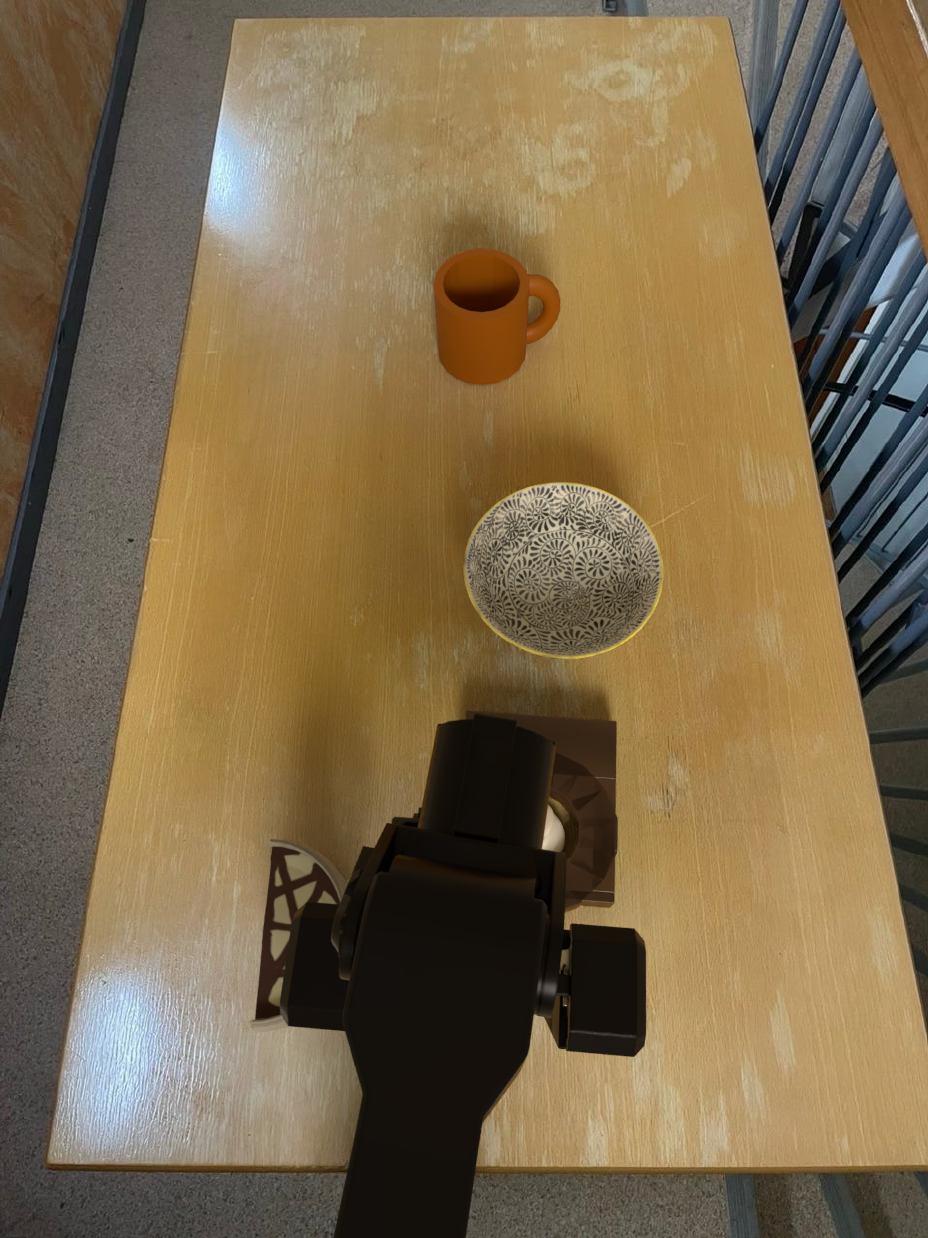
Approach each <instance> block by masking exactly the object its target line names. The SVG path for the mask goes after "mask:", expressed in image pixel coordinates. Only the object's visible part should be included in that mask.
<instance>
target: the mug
mask: <svg viewBox="0 0 928 1238" xmlns="http://www.w3.org/2000/svg"><path fill="white" fill-rule="evenodd" d="M432 286H433V297H434V312H435V325H436V326H435V327H436V339H437V341H436V342H437V353H438V357H439V362H440V364H441V366H442V367H443V369H444V370H445V372H447V373H448V374H449V375H451V376H452V377H453V378H454V379H456V380H458V381H460V382H463V383H465V384H466V383H467V384H469V385H476V386H477V385H478V386H485V385H486V386H487V385H493V384H498V383H501V382H503V381H505V380H507V379H510V377H512V376H513V375H514V374H516V373H517V372H518V371H519V370H520V368H521V367H522V365H523V364H524V362H525V360H526V359H525V358H526V352H527V345H531V344H533V343H536V342H537V341H540V340H541V339H542V338H544V337H545V336H547V335H548V333H549V332H550V331H551V330H552V329H553V328H554V326H555V324H556V322H557V321H558V317H559V316H560V312H561V296H560V292H559V289H558V288H557V287H556V285H555V283H554V282H553V281H552V280H551V279H549V278H548V277H547V276H544V275H541V274H537V273H528V271H527V269H526V268H525V267H524V265H523V264H522V263H521V261H520V260H518V259H517V258H516V257H514V256H512V255H511V254H510V253H506V252H504V251H501V250H498V249H494V248H483V247H482V248H481V247H480V248H473V249H466V250H464V251H460V252H458V253H456V254H453V255H452V256H450V257H449V258H447V259H446V260H444V262H443V263H442V264H441V265H440V266H439V267H438V269H437V271H436V272H435V276H434V279H433V285H432ZM530 297H534V298H535V297H536V298H537V299H539V300H540V301H541V303H542V309H541V312H540V313H539V315H538V316H537V317H536V318H535V319H534V320H533V321H530V322H529V305H530V304H529V302H530Z"/></svg>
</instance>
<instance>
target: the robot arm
mask: <svg viewBox="0 0 928 1238" xmlns="http://www.w3.org/2000/svg"><path fill="white" fill-rule="evenodd" d="M555 751H556V743H555V742H553V741H550V740H548V739H547V738H545V737H544V736H542V735H540V734H538V733H536V732H533V731H531V730H528V729H525V728H522V727H519V726H517V719H514V718H508V717H502V716H495V715H489V714H483V713H475V714H474V719H466V718H465V719H454V720H448V721H445V722H442V723H438V724H437V725H436V729H435V735H434V740H433V745H432V751H431V754H430V755H431V756H430V760H429V761H430V762H429V766H428V772H427V776H426V782H425V787H424V793H423V797H422V803H421V807H420V806H419V807H418V810H417V812H413V815H412V817H404V816H393V817H392V818H391V822H386V823H385V824H384V827H383V829H382V831H381V833H380V835H379V837H378V838H377V842H376V843H375V846H374V847H372V846H365V845H362V847H361V850H360V853H359V855H358V858H357V860H356V862H355V865H354V867H353V870H352V872H351V875H350V877H349V880H348V882H347V887H346V890H345V892H344V894H343V897H342V899H341V902H340V904H329V903H316V902H306V903H305V904H304V905H303V906H302V907H301V908H300V909H298V910H297V911H296V913H295V915H294V918H293V920H292V924H291V931H290V938H289V944H288V951H287V957H286V964H285V970H284V977H283V984H282V990H281V997H280V1014H281V1016H282V1017H283V1019H284V1020H285V1022H286V1023H287V1025H288V1026H289V1028H290V1027H291V1028H301V1029H302V1028H304V1029H313V1030H314V1029H315V1030H324V1031H335V1032H344V1033H345V1037H346V1040H347V1043H348V1047H349V1050H350V1054H351V1057H352V1061H353V1064H354V1069H355V1071H356V1076H357V1079H358V1082H359V1086H360V1089H361V1100H360V1106H359V1110H358V1116H357V1121H356V1126H355V1130H354V1131H355V1132H354V1137H353V1141H352V1145H351V1151H350V1155H349V1160H348V1164H347V1170H346V1175H345V1180H344V1183H343V1184H344V1185H343V1189H342V1194H341V1200H340V1204H339V1210H338V1214H337V1218H336V1223H335V1228H334V1233H333V1237H332V1238H467V1233H468V1226H469V1225H468V1224H469V1217H470V1210H471V1203H472V1198H473V1191H474V1184H475V1176H476V1170H477V1163H478V1157H479V1156H478V1155H479V1149H480V1142H481V1135H482V1129H483V1124H484V1122H486V1120H487V1118H488V1117H489V1116H490V1115H491V1113H492V1112H493V1110H494V1109H495V1108H496V1106H497V1105H498V1104H499V1102H500V1101H501V1099H502V1098H503V1096H504V1095H505V1094H506V1092H507V1091H508V1090H509V1088H510V1087H511V1086H512V1084H513V1083H514V1081H515V1080H516V1078H518V1076H519V1074H520V1072H521V1071H522V1069H523V1067H524V1064H525V1062H526V1061H527V1057H528V1055H529V1053H530V1052H529V1051H530V1049H531V1040H532V1032H533V1024H534V1016H536V1017H540V1018H541V1017H542V1018H544V1020H545V1022H546V1025H547V1027H548V1029H549V1031H550V1033H551V1036H552V1038H553V1040H554V1042H555V1045H556V1047H557V1049H559V1050H565V1052H572V1053H582V1054H583V1053H584V1054H595V1055H606V1056H615V1057H627V1058H629V1057H630V1058H635V1057H636V1056H637V1055H638V1053H639V1052H641V1050H642V1049H643V1048H644V1047H645V1045H646V1039H647V948H646V942H645V940H644V938H643V937H642V936H641V935H640V933H639V932H638V931H637V929H636V928H634V927H623V926H609V925H600V924H599V925H598V924H597V925H596V924H586V923H572V922H571V923H570V924H569V929H565V918H566V916H565V914H566V912H565V891H566V861H567V860H568V859H567V857H568V856H567V855H568V854H567V852H556V851H550V850H545V849H542V846H543V839H544V831H545V824H546V817H547V809H548V805H549V803H550V797H549V795H550V788H551V780H552V773H553V766H554V758H555Z"/></svg>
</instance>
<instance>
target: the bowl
mask: <svg viewBox="0 0 928 1238" xmlns="http://www.w3.org/2000/svg"><path fill="white" fill-rule="evenodd" d="M462 565H463V566H462V570H463V571H462V573H463V580H464V585H465V589H466V592H467V595H468V597H469V598H468V599H469V600H470V602H471V604H472V606H473V608H474V609H475V612H476V613H477V614H478V616H479V617H480V618H481V619H482V622H483V623H485V624H486V625H487V626H488V627H489V629H491V631H493V632H494V633H495V634H496V635H498V636H499V637H500V638H501V639H503V640H504V641H506V642H507V643H508V644H510V645H512V646H513V647H516V648H518V649H519V650H522V651H525V652H527V653H530V654H532V655H534V656H538V657H542V658H547V659H553V660H575V659H585V658H589V657H594V656H598V655H603V654H605V653H607V652H609V651H612V650H614V649H615V648H618V647H619V646H621V645H623V644H625V643H626V642H627V641H630V639H632V638H633V637H634V636H635V635H636V634H638V633H639V631H641V629H642V628H643V627H644V626H645V625H646V623H647V622H648V621H649V620H650V618H651V616H653V613H654V612H655V610H656V608H657V605H658V603H659V600H660V599H661V595H662V591H663V585H664V578H665V577H664V576H665V573H664V572H665V571H664V570H665V568H664V559H663V555H662V552H661V549H660V545H659V542H658V540H657V538H656V536H655V533H654V532H653V531H652V529H651V527H650V526H649V524H648V522H647V521H646V520H645V519H644V518H643V517H642V515H641V514H640V513H639V512H638V511H637V510H636V509H634V507H632V506H631V505H630V504H629V503H627V502H626V501H624V500H623V499H621V498H619V497H618V496H616V495H615V494H612V493H610V492H608V491H606V490H603V489H601V488H599V487H595V486H592V485H588V484H584V483H580V482H570V481H553V482H545V483H538V484H534V485H531V486H530V485H529V486H528V487H524V488H521V489H519V490H515V492H514V491H513V492H511V493H510V494H508V495H507V496H505V497H504V498H502V499H500V500H499V501H498V502H496V503H495V504H494V505H492V506H491V507H490V508H489V509H488V510H487V511H486V512H485V513H484V514H483V515H482V516H481V518H480V519H479V520H478V522H477V523H476V525H475V526H474V528H473V529H472V531H471V533H470V535H469V538H468V540H467V543H466V546H465V549H464V554H463V563H462Z"/></svg>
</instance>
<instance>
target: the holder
mask: <svg viewBox="0 0 928 1238" xmlns="http://www.w3.org/2000/svg"><path fill="white" fill-rule="evenodd" d="M475 713H483V714H489V715H495V716H502V717H508V718H514V719H517V726H519V727H522V728H525V729H528V730H531V731H533V732H536V733H538V734H540V735H542V736H544V737H545V738H547V739H548V740H550V741H553V742H555V743H556V751H555V758H554V766H553V773H552V780H551V788H550V795H549V799H553V800H554V801H556V802H558V803H559V804H560V805H561V806H562V807H563V808H564V809H565V810H566V811H567V812H568V814H569V815H570V818H571V820H572V823H573V825H574V828H575V847H574V850H573V851H572V853H571V855H570V857H568V859H567V860H566V891H565V913H568V912H571V911H573V910H576V909H578V908H579V907H580V906H581V907H582V906H583V907H595V908H607V909H610V908H611V907H613V906H614V904H615V902H616V901H615V899H616V895H615V890H616V889H615V888H616V856H617V854H618V846H619V845H618V843H619V841H618V839H619V838H618V837H619V836H618V835H619V834H618V833H619V820H618V815H617V745H618V744H617V735H618V734H617V733H618V730H617V729H618V728H617V727H618V724H617V723H618V721H617V720H609V719H608V720H606V719H595V718H594V719H590V718H580V717H579V718H576V717H565V716H563V717H562V716H549V715H535V714H519V713H507V712H506V713H505V712H492V711H477V710H466V711H465V719H474V714H475Z"/></svg>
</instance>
